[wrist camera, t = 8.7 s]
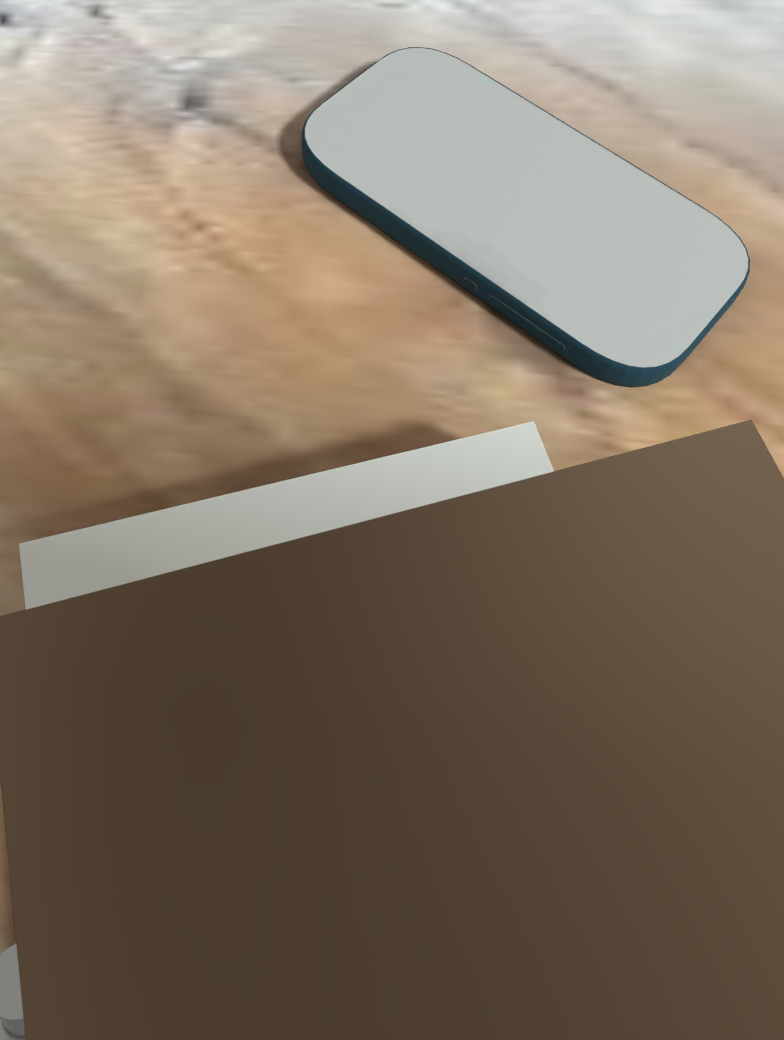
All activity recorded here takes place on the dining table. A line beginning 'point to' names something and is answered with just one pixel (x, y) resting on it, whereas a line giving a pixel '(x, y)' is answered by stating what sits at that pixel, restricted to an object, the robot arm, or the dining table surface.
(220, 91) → the dining table surface
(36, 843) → the walnut block
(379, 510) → the plinth
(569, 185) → the power bank
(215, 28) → the dining table surface
